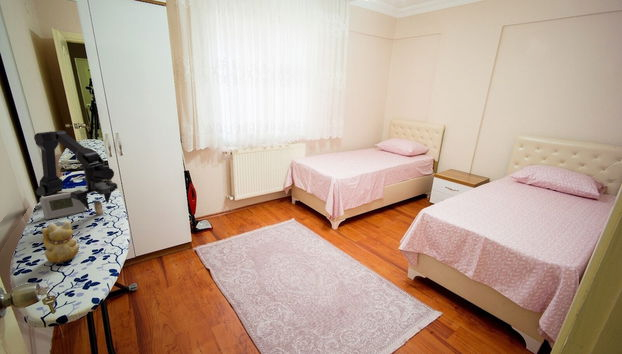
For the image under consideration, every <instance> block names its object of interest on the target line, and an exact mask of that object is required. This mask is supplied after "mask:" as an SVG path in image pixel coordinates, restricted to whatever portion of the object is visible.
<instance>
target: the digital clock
mask: <svg viewBox="0 0 622 354" xmlns="http://www.w3.org/2000/svg"><path fill="white" fill-rule="evenodd" d="M71 192H72V191H68V192H64V193H58V194H56V195H51V196H46V197H43V196H41V197H40V198H39V203H40V206H41V209H42V210H41V211H42V213H43V216H44V219H45V220H52V219H57V218H58V219H59V218H63V217H67V216H72V215H76V214H80V213H82V212H86V211H87V210H88V209H87V208H86V207H85V206H84V205H83V204H82V203H81V202H80V201H79V200H77V199H73V198H71V196H70V194H71Z"/></svg>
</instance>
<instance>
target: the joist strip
mask: <svg viewBox="0 0 622 354" xmlns="http://www.w3.org/2000/svg"><path fill="white" fill-rule="evenodd" d="M64 223H65V222H62V221H56V222H53V223H52V224H55V225H56V226H57V227H58V226H62V225H63V224H64ZM75 228H76V227H74V226H72V225H71V229H72V230H73V229H75Z"/></svg>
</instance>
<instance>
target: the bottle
mask: <svg viewBox="0 0 622 354" xmlns="http://www.w3.org/2000/svg"><path fill="white" fill-rule="evenodd" d="M93 207H94V210H95V215H96V216H101V215H104V210H103V205H102V202H101V200H95V201H94V203H93Z"/></svg>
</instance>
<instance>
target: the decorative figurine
mask: <svg viewBox="0 0 622 354" xmlns="http://www.w3.org/2000/svg"><path fill="white" fill-rule="evenodd" d="M63 223H64V224H63V225H62V226H58V227H57V226H56V225H55V224H53V223H50V224H48V226H47V227H43V228H42V229H41V233H42V242H43V247H45V251H44V255H45V256H44V257H45V258H46V259H47V261H48V262H49V263H52V265H55V264H60V263H61V264H62V263H65V262H70V261H71V259H73V258H74V257H76V256H77V254H78V252H79V249H80V246H79V244H78V243H77V242H78V241H77V239H75V238H72V235H73V229H71V226H72V223H71V222H70V221H65V222H63Z"/></svg>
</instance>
